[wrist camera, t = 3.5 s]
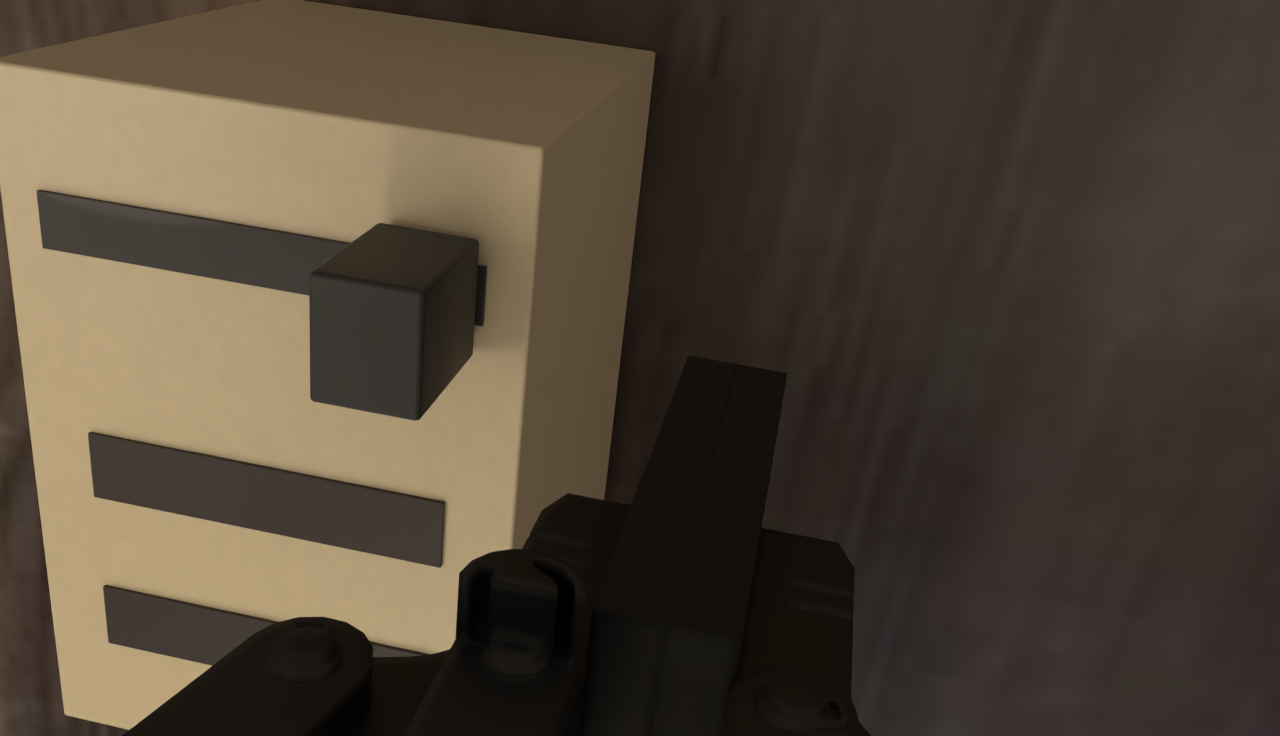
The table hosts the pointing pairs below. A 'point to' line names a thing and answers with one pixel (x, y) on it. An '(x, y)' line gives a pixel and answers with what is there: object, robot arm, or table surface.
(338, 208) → the toaster
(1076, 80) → the table surface
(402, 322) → the button
